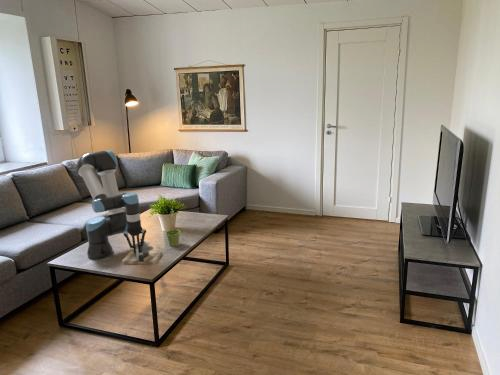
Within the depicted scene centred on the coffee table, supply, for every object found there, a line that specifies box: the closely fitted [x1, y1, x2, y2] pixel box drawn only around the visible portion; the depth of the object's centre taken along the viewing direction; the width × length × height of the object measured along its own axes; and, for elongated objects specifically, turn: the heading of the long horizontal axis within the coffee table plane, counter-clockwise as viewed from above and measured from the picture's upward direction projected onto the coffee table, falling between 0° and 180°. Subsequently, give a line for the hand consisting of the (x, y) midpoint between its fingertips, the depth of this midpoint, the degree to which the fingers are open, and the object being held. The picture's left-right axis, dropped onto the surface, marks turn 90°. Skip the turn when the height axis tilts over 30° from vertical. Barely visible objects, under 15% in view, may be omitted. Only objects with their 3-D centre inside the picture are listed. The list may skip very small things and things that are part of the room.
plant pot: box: [165, 229, 181, 247], centre depth 249 cm, size 9×9×9 cm
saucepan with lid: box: [135, 245, 150, 262], centre depth 225 cm, size 16×8×7 cm, turn 14°
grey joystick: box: [135, 231, 151, 247], centre depth 244 cm, size 12×10×10 cm
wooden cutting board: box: [121, 250, 163, 265], centre depth 231 cm, size 20×14×2 cm
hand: (137, 257), depth 221 cm, fingers closed
